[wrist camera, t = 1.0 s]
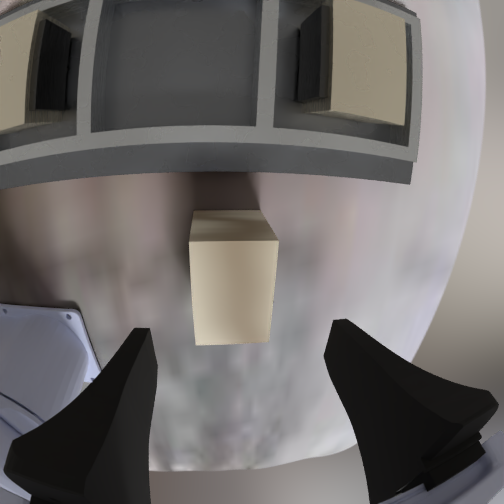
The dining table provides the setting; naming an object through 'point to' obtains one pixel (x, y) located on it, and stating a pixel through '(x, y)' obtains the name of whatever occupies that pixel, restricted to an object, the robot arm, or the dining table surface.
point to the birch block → (232, 276)
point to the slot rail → (209, 88)
